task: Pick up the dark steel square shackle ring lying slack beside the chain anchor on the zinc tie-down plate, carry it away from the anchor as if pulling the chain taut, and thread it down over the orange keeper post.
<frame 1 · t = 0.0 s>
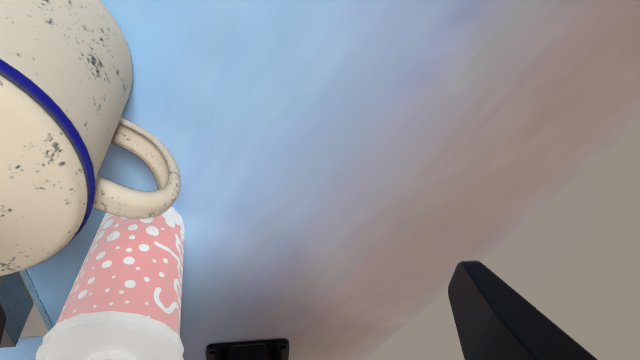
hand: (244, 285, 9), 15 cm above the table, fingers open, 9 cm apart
beverage cup: (145, 224, 27), on the table
teacup with lid: (66, 67, 21), on the table
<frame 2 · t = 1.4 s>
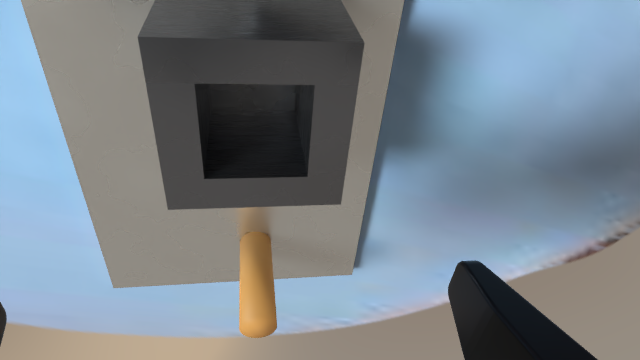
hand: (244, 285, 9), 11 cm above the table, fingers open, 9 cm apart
keeper post: (255, 234, 24), resting on tie plate
tie plate: (323, 109, 19), on the table
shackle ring: (253, 71, 17), point 1 cm above the table, touching tie plate
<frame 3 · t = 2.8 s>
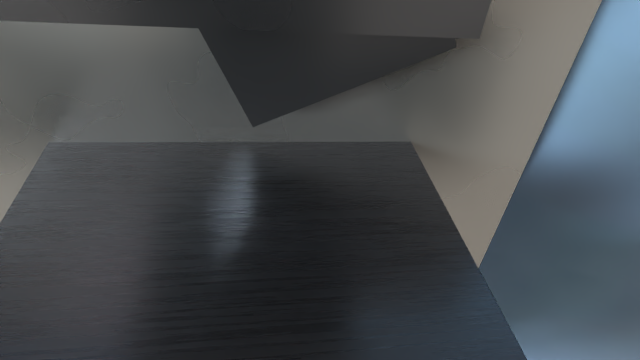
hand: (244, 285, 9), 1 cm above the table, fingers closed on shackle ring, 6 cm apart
tie plate: (362, 290, 12), on the table
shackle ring: (244, 261, 9), point 1 cm above the table, touching gripper, tie plate
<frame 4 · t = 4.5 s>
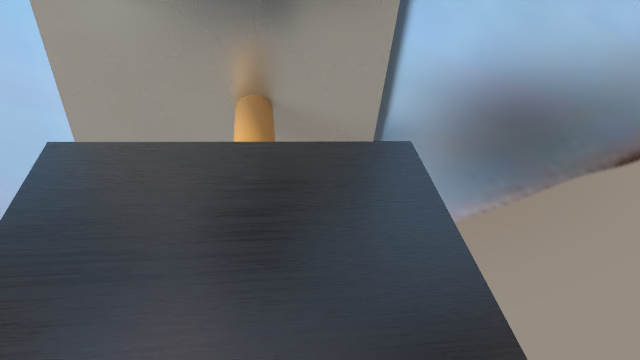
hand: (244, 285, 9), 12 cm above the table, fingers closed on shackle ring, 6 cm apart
keeper post: (253, 104, 20), resting on tie plate
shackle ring: (243, 261, 9), point 11 cm above the table, touching gripper
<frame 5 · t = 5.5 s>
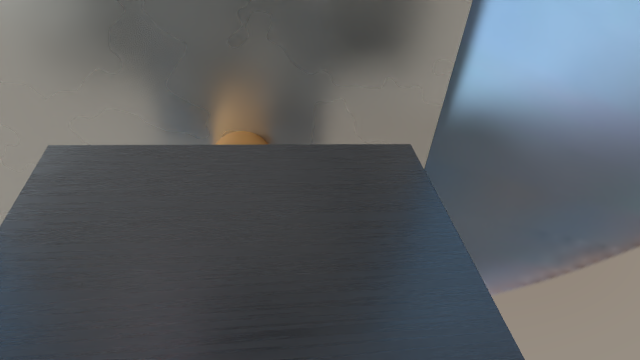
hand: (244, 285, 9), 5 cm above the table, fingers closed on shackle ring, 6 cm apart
keeper post: (242, 143, 13), resting on tie plate
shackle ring: (243, 263, 9), point 5 cm above the table, touching gripper
when the fingers open (3 cm above the table, at t = 6.3 s): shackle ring drops 2 cm, resting on tie plate.
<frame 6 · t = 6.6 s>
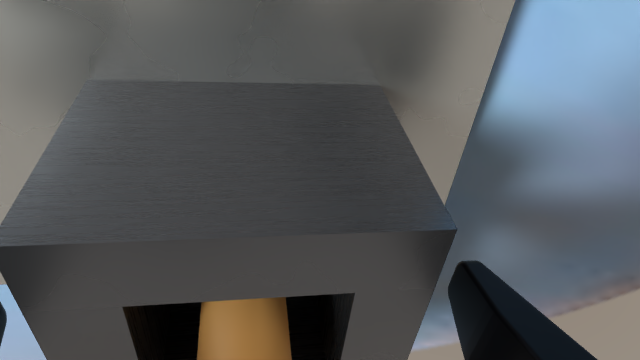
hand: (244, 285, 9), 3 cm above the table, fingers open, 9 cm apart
keeper post: (243, 178, 12), resting on tie plate
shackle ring: (243, 193, 11), point 1 cm above the table, touching tie plate
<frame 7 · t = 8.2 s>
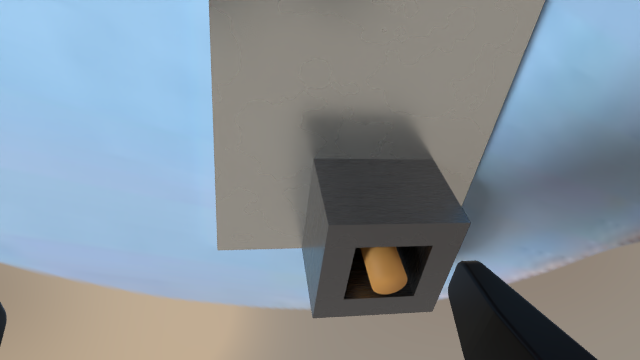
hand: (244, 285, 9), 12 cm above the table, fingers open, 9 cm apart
keeper post: (361, 198, 24), resting on tie plate
tie plate: (456, 68, 20), on the table
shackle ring: (364, 206, 23), point 1 cm above the table, touching tie plate
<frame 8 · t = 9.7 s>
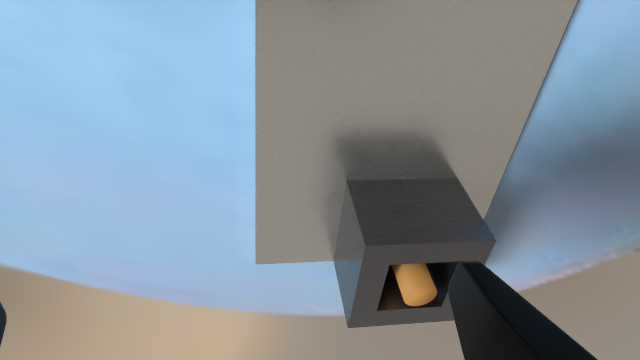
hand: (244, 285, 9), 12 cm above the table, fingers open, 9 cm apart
keeper post: (389, 214, 25), resting on tie plate
tie plate: (479, 95, 21), on the table
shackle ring: (392, 221, 25), point 1 cm above the table, touching tie plate
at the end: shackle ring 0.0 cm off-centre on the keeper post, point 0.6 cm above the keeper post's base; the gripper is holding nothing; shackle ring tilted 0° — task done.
